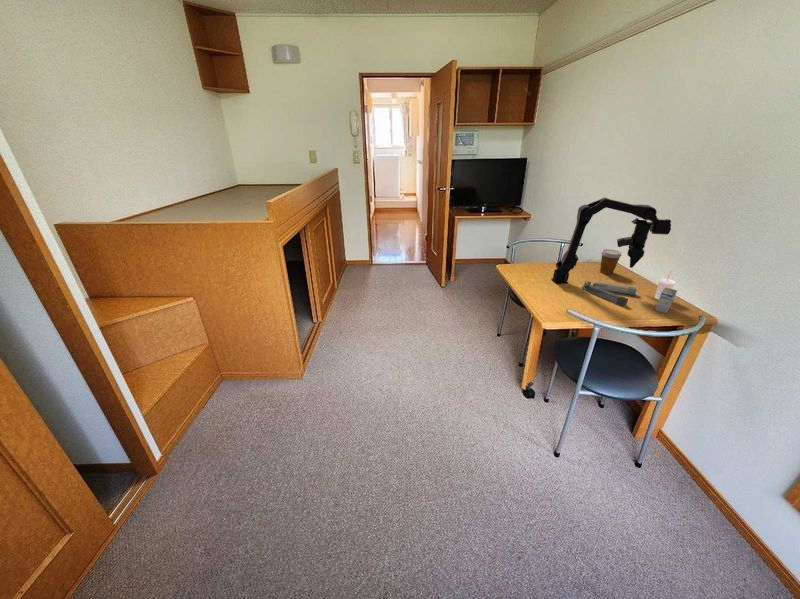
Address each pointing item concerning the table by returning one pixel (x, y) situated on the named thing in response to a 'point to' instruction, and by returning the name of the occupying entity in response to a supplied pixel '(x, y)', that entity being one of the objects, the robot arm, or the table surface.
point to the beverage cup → (664, 285)
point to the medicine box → (665, 300)
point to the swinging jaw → (616, 288)
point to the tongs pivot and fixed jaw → (605, 294)
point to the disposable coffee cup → (609, 261)
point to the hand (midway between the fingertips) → (631, 264)
